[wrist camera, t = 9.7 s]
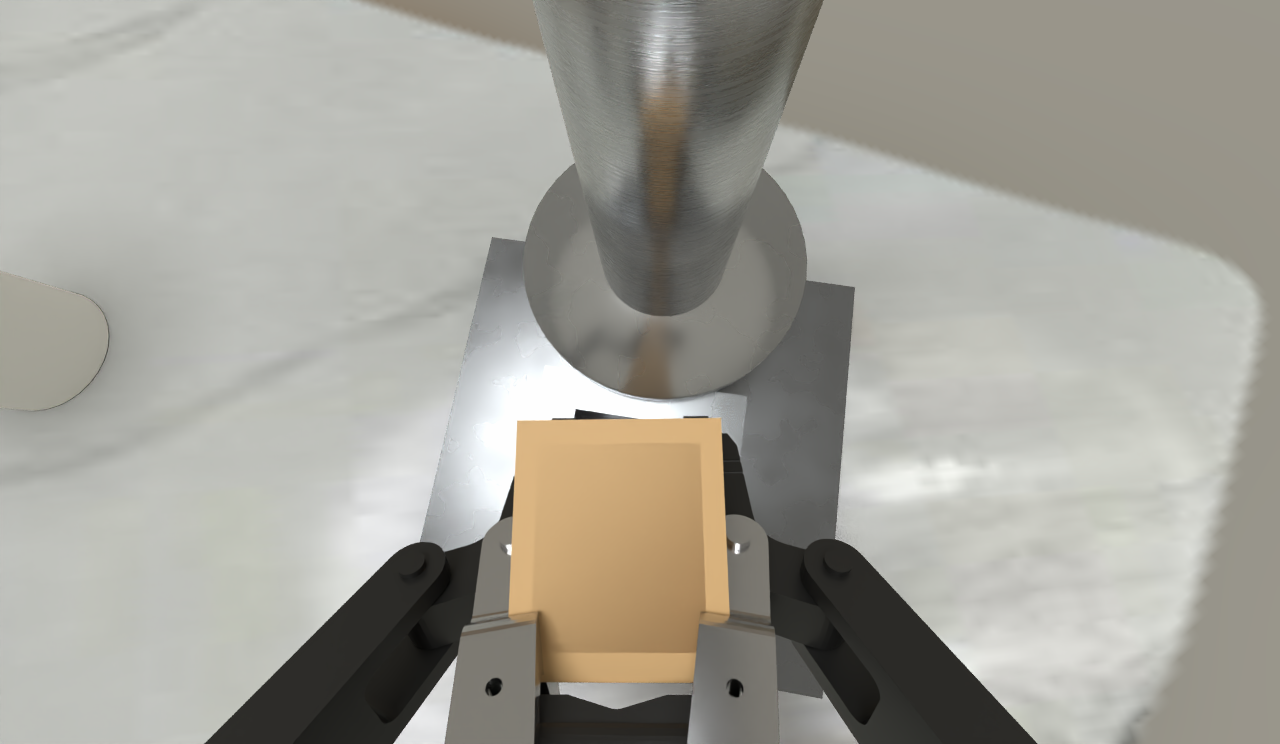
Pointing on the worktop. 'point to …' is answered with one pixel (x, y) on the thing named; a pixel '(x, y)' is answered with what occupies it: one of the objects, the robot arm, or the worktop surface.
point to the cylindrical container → (46, 343)
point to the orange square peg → (619, 544)
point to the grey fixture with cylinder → (662, 272)
